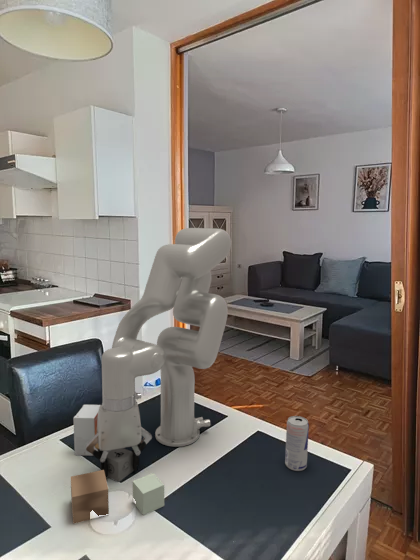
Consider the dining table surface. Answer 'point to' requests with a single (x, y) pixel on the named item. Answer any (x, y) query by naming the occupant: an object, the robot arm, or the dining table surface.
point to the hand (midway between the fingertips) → (120, 470)
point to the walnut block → (89, 495)
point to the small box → (85, 428)
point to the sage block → (148, 493)
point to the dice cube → (119, 463)
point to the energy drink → (296, 443)
